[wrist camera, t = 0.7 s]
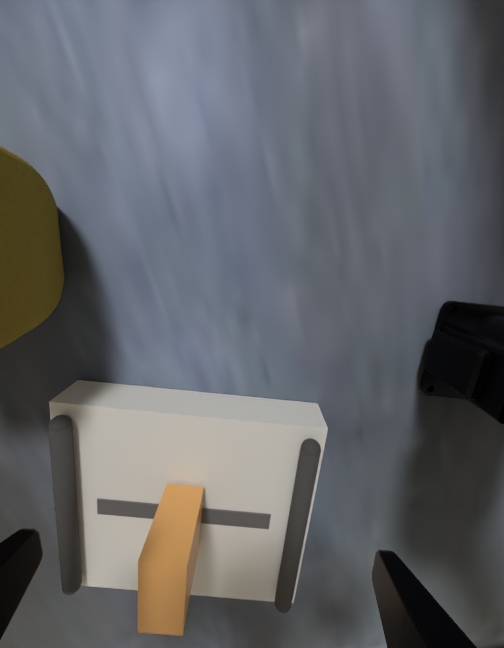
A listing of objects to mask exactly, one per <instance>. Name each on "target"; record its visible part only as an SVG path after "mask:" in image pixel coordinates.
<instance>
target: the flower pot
mask: <svg viewBox="0 0 504 648" xmlns="http://www.w3.org/2000/svg"><path fill="white" fill-rule="evenodd" d="M64 279H65V278H64V269H63V259H62V252H61V243H60V232H59V222H58V211H57V206H56V203H55V200H54V198H53V195H52V193H51V191H50V189H49V187H48V185H47V184H46V182H45V181H44V179H43V178H42V177H41V176H40V174H39V173H38V172H37V171H36V170H35V169H34V168H33V167H32V166H30V165H29V164H28V163H27V162H26V161H24V160H23V159H21V158H20V157H18V156H17V155H15V154H13V153H12V152H10V151H8V150H6V149H5V148H3V147H1V146H0V349H1V348H3V347H4V346H6V345H7V344H9V343H11V342H12V341H14V340H16V339H17V338H19V337H20V336H22V335H24V334H25V333H27V332H29V331H30V330H32V329H33V328H35V327H36V326H38V325H39V324H41V323H42V322H43V321H44V320H45V319H47V318H48V317H49V316H50V314H51V313H52V312H53V311H54V309H55V308H56V306H57V305H58V303H59V301H60V298H61V295H62V290H63V285H64Z"/></svg>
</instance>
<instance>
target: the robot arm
mask: <svg viewBox="0 0 504 648" xmlns="http://www.w3.org/2000/svg"><path fill="white" fill-rule="evenodd" d="M452 306H453V310H452V311H451V312H449V309H450V307H452ZM424 367H425V370H424V374H423V377H422V381H421V384H420V389H421V391H423V392H424V393H425V394H426V395H430V396H440V397H450V398H460V399H467V400H469V401H470V402H472V403H473V404H475V405H476V406H477V407H479V408H480V409H482V410H483V411H484V412H486V413H487V414H489V415H490V416H491V417H493V418H494V419H496V420H497V421H498V422H500V423H502V424H504V306H495V305H486V304H476V303H467V302H457V301H448V302H446V303H445V304H443V306H442V309H441V312H440V316H439V319H438V323H437V327H436V330H435V333H434V334H433V337H432V341H431V344H430V348H429V352H428V355H427V359H426V362H425V366H424ZM430 385H431V387H430V388H429V389H427V387H428V386H430ZM42 556H43V549H42V544H41V539H40V534H39V531H38V530H37V529H26V528H25V529H21V530H18V531H17V532H15V533H14V534H12V535H11V536H10V537H8V538H7V539H5V540H4V541H2V542H1V543H0V639H1V638H2V636H3V634H4V632H5V630H6V628H7V626H8V625H9V623H10V621H11V619H12V617H13V615H14V613H15V611H16V609H17V607H18V605H19V603H20V601H21V599H22V597H23V595H24V593H25V591H26V590H27V588H28V586H29V584H30V582H31V580H32V578H33V576H34V574H35V572H36V570H37V568H38V566H39V564H40V562H41V559H42ZM372 581H373V586H374V591H375V595H376V600H377V604H378V608H379V613H380V617H381V621H382V626H383V630H384V635H385V639H386V643H387V648H477V647H476V646H475V645H474V644H473V643H472V642H471V640H470V639H469V638H468V637H467V636H466V635H465V633H464V632H463V631H462V630H461V629H460V628H459V627H458V625H457V624H456V623H455V622H454V621H453V620H452V618H451V617H450V616H449V615H448V614H447V613H446V611H445V610H444V609H443V608H442V607H441V606H440V605H439V603H438V602H437V601H436V600H435V599H434V598H433V596H432V595H431V594H430V593H429V592H428V591H427V589H426V588H425V587H424V586H423V585H422V584H421V582H420V581H419V580H418V579H417V578H416V577H415V576H414V574H413V573H412V572H411V571H410V570H409V569H408V567H407V566H406V565H405V564H404V563H403V562H402V560H401V559H400V558H399V557H398V556H397V555H396V554H395V553H394V552H392V551H386V550H378V551H377V552H376V555H375V560H374V566H373V571H372Z"/></svg>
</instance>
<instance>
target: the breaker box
mask: <svg viewBox="0 0 504 648" xmlns="http://www.w3.org/2000/svg"><path fill="white" fill-rule="evenodd" d="M49 408H50V420H52V419H53V418H54V417H55V416H58V415H67V416H69V417H70V418H71V420H72V426H73V442H74V459H75V475H76V491H77V507H78V523H79V539H80V555H81V571H82V583H81V586H93V587H105V588H116V589H128V590H138V560H139V557H140V554H141V552H142V549H143V546H144V543H145V541H146V538H147V535H148V533H149V530H150V527H151V525H152V522H153V519H154V516H155V514H156V511H157V508H158V506H159V503H160V500H161V498H162V495H163V492H164V489H165V487H166V484H176V485H187V486H198V487H204V491H203V504H202V518H201V531H200V544H199V551H198V556H197V562H196V567H195V573H194V578H193V584H192V589H191V594H190V595H199V596H211V597H222V598H234V599H246V600H258V601H270V602H275V595H276V589H277V583H278V577H279V571H280V565H281V560H282V554H283V548H284V542H285V536H286V530H287V525H288V519H289V513H290V507H291V501H292V495H293V490H294V484H295V478H296V472H297V466H298V460H299V455H300V449H301V444H302V443H303V441H304V440H306V439H309V438H312V439H315V440H316V441H317V442H318V443H319V444H320V447H321V454H320V459H319V464H318V469H317V474H316V480H315V485H314V490H313V495H312V500H311V506H310V511H309V516H308V521H307V526H306V531H305V537H304V542H303V547H302V552H301V557H300V563H299V568H298V573H297V578H296V583H295V588H294V594H293V599H292V603H293V604H294V599H295V594H296V589H297V584H298V579H299V574H300V569H301V564H302V559H303V553H304V548H305V543H306V538H307V533H308V528H309V523H310V518H311V513H312V507H313V502H314V497H315V492H316V487H317V482H318V477H319V472H320V467H321V461H322V456H323V451H324V446H325V441H326V436H327V431H328V428H327V425H326V423H325V420H324V418H323V415H322V413H321V410H320V408H319V405H318V403H309V402H299V401H288V400H278V399H268V398H258V397H248V396H237V395H227V394H217V393H207V392H197V391H186V390H176V389H166V388H156V387H146V386H135V385H125V384H115V383H105V382H94V381H84V380H77V381H76V382H75V383H73V384H72V385H71V386H69V387H68V388H67V389H65V390H64V391H63V392H61V393H60V394H59V395H57V396H56V397H55V398H53V399H52V400H51V401H49Z"/></svg>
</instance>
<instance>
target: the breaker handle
mask: <svg viewBox="0 0 504 648" xmlns="http://www.w3.org/2000/svg"><path fill="white" fill-rule="evenodd" d="M203 491H204V487H198V486H187V485H176V484H166V487H165V489H164V492H163V495H162V498H161V500H160V503H159V506H158V508H157V511H156V514H155V516H154V519H153V522H152V525H151V527H150V530H149V533H148V535H147V538H146V541H145V543H144V546H143V549H142V552H141V554H140V557H139V560H138V632H142V633H154V634H166V635H178V636H183V632H184V627H185V622H186V616H187V611H188V605H189V600H190V594H191V589H192V584H193V578H194V573H195V567H196V562H197V556H198V551H199V544H200V531H201V518H202V504H203Z"/></svg>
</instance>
